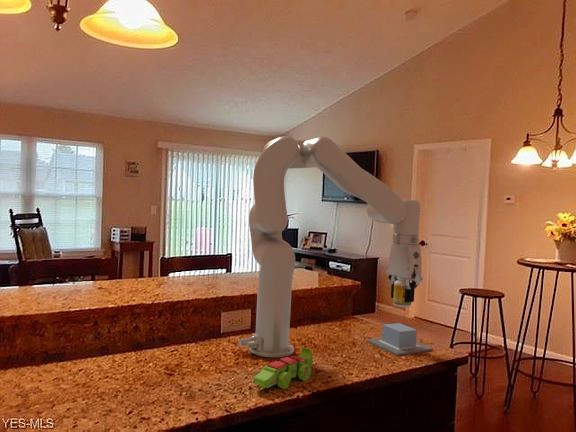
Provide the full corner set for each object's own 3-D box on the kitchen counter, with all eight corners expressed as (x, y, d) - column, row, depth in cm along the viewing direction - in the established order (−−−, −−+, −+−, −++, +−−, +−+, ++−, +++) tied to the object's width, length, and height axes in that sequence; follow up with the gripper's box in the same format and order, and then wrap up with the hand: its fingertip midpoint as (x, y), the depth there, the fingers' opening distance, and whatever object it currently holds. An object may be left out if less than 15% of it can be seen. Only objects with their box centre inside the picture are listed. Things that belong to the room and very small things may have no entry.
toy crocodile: (267, 397, 105) (268, 370, 105) (245, 388, 109) (246, 362, 109) (321, 375, 120) (322, 350, 120) (300, 367, 124) (302, 344, 124)
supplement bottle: (401, 303, 150) (403, 272, 150) (414, 306, 146) (416, 275, 145) (389, 304, 147) (390, 273, 147) (402, 308, 143) (404, 276, 142)
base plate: (396, 355, 138) (397, 353, 138) (366, 341, 150) (366, 339, 150) (432, 350, 144) (432, 348, 144) (400, 337, 157) (400, 335, 156)
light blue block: (398, 348, 142) (399, 331, 142) (381, 340, 149) (382, 324, 149) (415, 346, 145) (416, 330, 145) (398, 338, 152) (399, 323, 152)
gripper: (435, 243, 140) (432, 305, 141) (395, 237, 155) (392, 293, 156) (416, 243, 136) (412, 307, 137) (377, 237, 151) (374, 294, 152)
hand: (402, 299), depth 146 cm, fingers closed on supplement bottle, 5 cm apart
